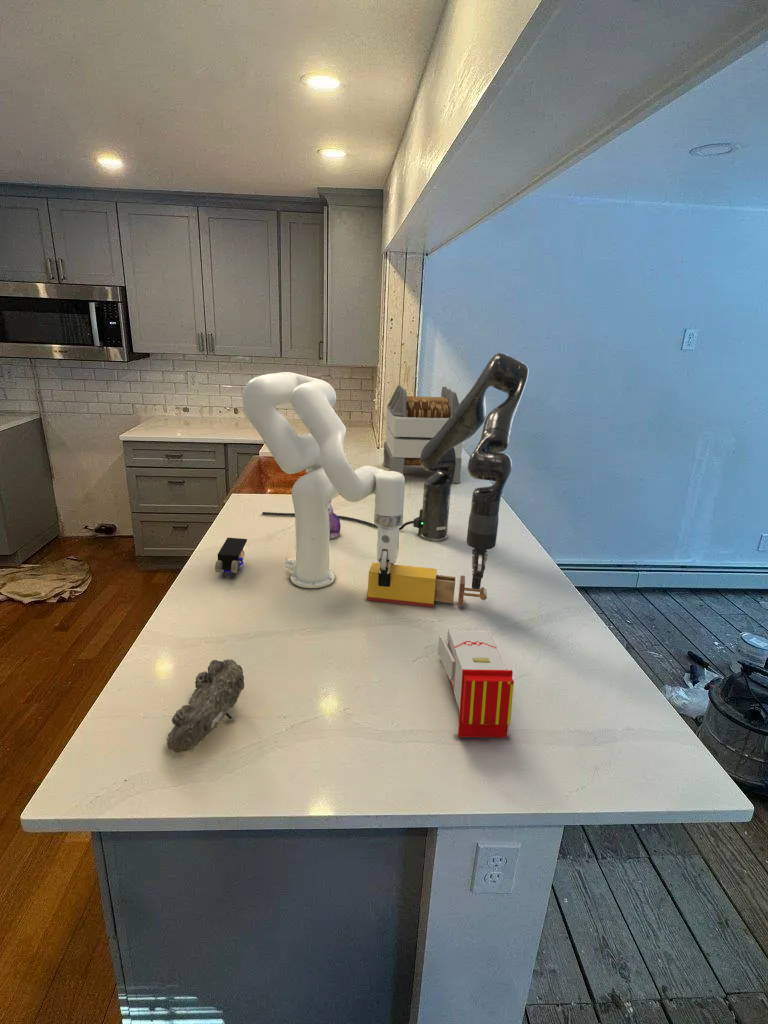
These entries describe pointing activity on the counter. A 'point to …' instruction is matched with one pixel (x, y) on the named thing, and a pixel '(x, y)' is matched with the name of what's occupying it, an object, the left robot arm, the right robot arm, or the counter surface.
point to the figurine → (333, 521)
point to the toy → (478, 682)
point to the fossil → (206, 705)
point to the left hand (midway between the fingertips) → (385, 579)
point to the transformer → (416, 427)
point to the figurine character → (230, 556)
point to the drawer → (447, 587)
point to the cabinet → (404, 585)
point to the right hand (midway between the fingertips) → (475, 587)
